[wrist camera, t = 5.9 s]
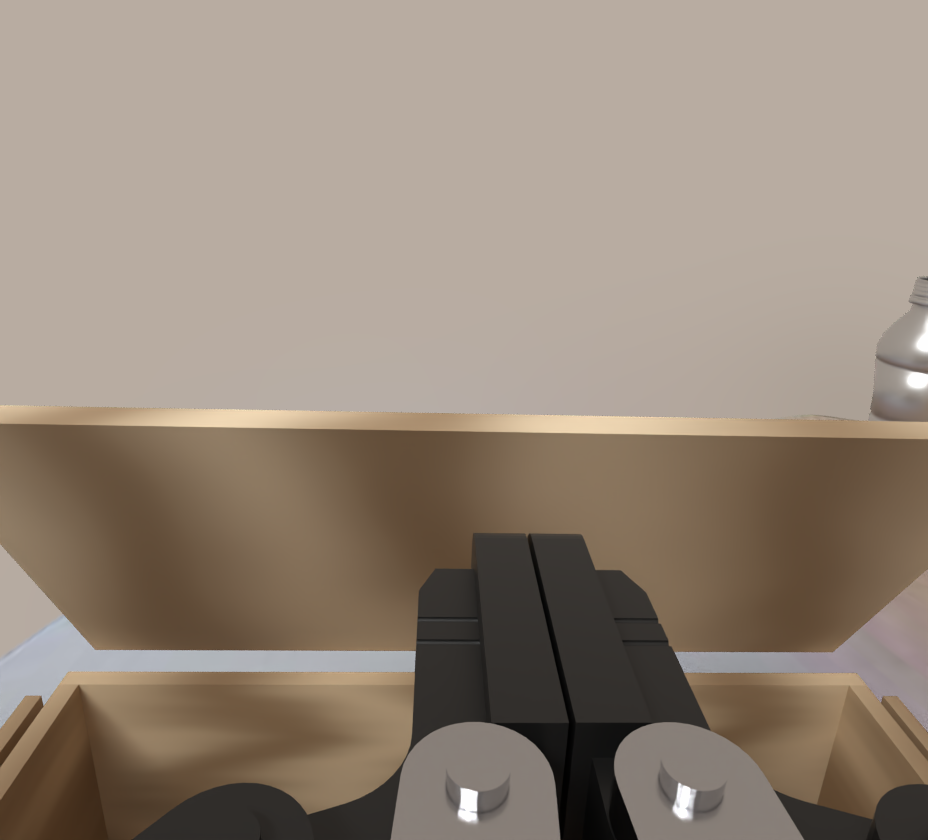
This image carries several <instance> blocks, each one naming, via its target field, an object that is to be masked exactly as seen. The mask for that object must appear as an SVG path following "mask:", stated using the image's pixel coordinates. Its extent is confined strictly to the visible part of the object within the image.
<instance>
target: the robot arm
mask: <svg viewBox="0 0 928 840" xmlns="http://www.w3.org/2000/svg"><path fill="white" fill-rule="evenodd" d="M132 840H928V785H926V784H908V785H903V786H899V787H896V788H894V789H892V790H890V791H888V792H887V793H886V794H884V795H883V796H882V797H881V799H880V800H879V802H878V804H877V806H876V809H875V813H874V816H873V819H869V818H865V817H862V816H858V815H854V814H850V813H847V812H843V811H839V810H835V809H831V808H828V807H824V806H820V805H816V804H813V803H809V802H805V801H802V800H799V799H796V798H793V797H790V796H787V795H785V794H783V793H780V792H778V791H776V790H774V789H773V788H772V786H771V785H770V783H769V782H768V780H767V778H766V777H765V775H764V774H763V772H762V771H761V769H760V768H759V767H758V765H757V764H756V763H755V762H754V761H753V760H752V759H751V757H750V756H749V755H748V754H747V753H745V752H744V751H743V750H742V749H740V748H739V747H738V746H737V745H735V744H734V743H732V742H731V741H729V740H728V739H726V738H724V737H722V736H720V735H718V734H716V733H714V732H712V731H711V730H710V727H709V725H708V723H707V721H706V719H705V717H704V715H703V713H702V710H701V708H700V706H699V704H698V702H697V700H696V698H695V696H694V693H693V691H692V689H691V687H690V685H689V683H688V681H687V678H686V676H685V674H684V672H683V670H682V668H681V666H680V664H679V661H678V659H677V657H676V655H675V653H674V651H673V649H672V646H669V640H668V638H667V636H666V634H665V632H664V629H663V627H662V625H661V624H659V623H658V617H657V615H656V612H655V610H654V608H653V606H652V604H651V602H650V600H649V597H648V595H647V593H646V592H645V591H644V590H643V589H642V588H641V587H639V586H638V585H637V584H636V583H635V582H634V581H632V580H631V579H630V578H629V577H628V576H627V575H626V574H624V573H623V572H622V571H621V570H595V567H594V564H593V562H592V559H591V556H590V554H589V551H588V548H587V546H586V543H585V540H584V538H583V536H582V535H581V534H541V533H529V534H528V536H526V534H525V533H473V538H472V556H471V569H435V570H434V571H433V572H432V574H431V575H430V576H429V578H428V579H427V580H426V582H425V583H424V584H423V586H422V587H421V588H420V590H419V596H418V619H417V639H416V660H415V681H414V702H413V724H412V738H411V744H410V747H409V750H408V753H407V755H406V757H405V759H404V761H403V762H402V764H401V766H400V767H399V768H398V769H397V771H396V772H395V773H394V774H393V775H392V776H391V777H390V778H389V779H388V780H387V781H386V782H385V783H384V784H382V785H381V786H379V787H378V788H377V789H375V790H374V791H372V792H370V793H368V794H366V795H365V796H363V797H361V798H359V799H356V800H353V801H350V802H348V803H345V804H342V805H338V806H335V807H332V808H328V809H325V810H322V811H318V812H315V813H311V814H308V815H307V813H306V812H305V810H304V809H303V808H302V806H301V805H300V804H299V803H298V802H297V801H296V800H295V799H294V798H293V797H292V796H290V795H289V794H287V793H285V792H284V791H282V790H280V789H277V788H275V787H272V786H269V785H264V784H259V783H234V784H227V785H223V786H218V787H214V788H212V789H209V790H206V791H203V792H201V793H198V794H196V795H195V796H193V797H191V798H189V799H187V800H185V801H183V802H182V803H180V804H179V805H177V806H176V807H174V808H173V809H172V810H170V811H169V812H168V813H166V814H165V815H164V816H162V817H161V818H160V819H158V820H157V821H156V822H154V823H153V824H152V825H150V826H149V827H148V828H146V829H145V830H144V831H142V832H141V833H140V834H138V835H137V836H136V837H134V838H133V839H132Z"/></svg>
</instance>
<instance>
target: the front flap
mask: <svg viewBox="0 0 928 840" xmlns="http://www.w3.org/2000/svg"><path fill="white" fill-rule="evenodd" d="M473 533H525V534H526V536H528V534H529V533H541V534H581V535H582V536H583V538H584V540H585V543H586V546H587V548H588V551H589V554H590V556H591V559H592V562H593V564H594V567H595V570H621V571H622V572H623V573H624V574H626V575H627V576H628V577H629V578H630V579H631V580H632V581H634V582H635V583H636V584H637V585H638V586H639V587H641V588H642V589H643V590H644V591H645V592H646V593H647V595H648V597H649V600H650V602H651V604H652V606H653V608H654V610H655V612H656V615H657V617H658V623H659V624H661V625H662V627H663V629H664V632H665V634H666V636H667V638H668V640H669V646H672V649H673V651H674V652H834V651H835V650H836V649H837V648H838V647H839V646H840V645H842V644H843V643H844V642H845V641H846V640H847V639H848V638H850V637H851V636H852V635H853V634H854V633H855V632H856V631H858V630H859V629H860V628H861V627H862V626H863V625H864V624H865V623H867V622H868V621H869V620H870V619H871V618H872V617H873V616H875V615H876V614H877V613H878V612H879V611H880V610H881V609H883V608H884V607H885V606H886V605H887V604H888V603H889V602H891V601H892V600H893V599H894V598H895V597H896V596H897V595H899V594H900V593H901V592H902V591H903V590H904V589H905V588H906V587H908V586H909V585H910V584H911V583H912V582H913V581H914V580H916V579H917V578H918V577H919V576H920V575H921V574H922V573H924V572H925V571H926V570H927V569H928V422H900V421H844V420H788V419H732V418H729V419H728V418H676V417H671V418H670V417H620V416H619V417H618V416H563V415H560V416H559V415H508V414H452V413H397V412H396V413H395V412H341V411H281V410H229V409H227V410H226V409H172V408H171V409H170V408H169V409H168V408H117V407H60V406H5V405H4V406H3V405H0V544H1V545H2V547H3V548H4V549H5V550H6V551H7V552H8V553H9V554H10V555H11V557H12V558H13V559H14V560H15V561H16V562H17V563H18V564H19V565H20V567H21V568H22V569H23V570H24V571H25V572H26V573H27V574H28V575H29V576H30V578H31V579H32V580H33V581H34V582H35V583H36V584H37V585H38V587H39V588H40V589H41V590H42V591H43V592H44V593H45V594H46V595H47V597H48V598H49V599H50V600H51V601H52V602H53V603H54V604H55V605H56V607H57V608H58V609H59V610H60V611H61V612H62V613H63V614H64V615H65V617H66V618H67V619H68V620H69V621H70V622H71V623H72V624H73V625H74V627H75V628H76V629H77V630H78V631H79V632H80V633H81V634H82V635H83V637H84V638H85V639H86V640H87V641H88V642H89V643H90V644H91V645H92V647H93V648H94V649H95V650H316V651H416V639H417V619H418V596H419V590H420V588H421V587H422V586H423V584H424V583H425V582H426V580H427V579H428V578H429V576H430V575H431V574H432V572H433V571H434V570H435V569H471V556H472V538H473Z"/></svg>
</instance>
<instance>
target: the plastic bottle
mask: <svg viewBox="0 0 928 840" xmlns="http://www.w3.org/2000/svg"><path fill="white" fill-rule="evenodd" d="M909 302H910V303H913V305H912V307H911V309H910V311H909V312H907V313H906V314H905V315H904V316H902V317H901V318H900V319H898V320H897V321H896V322H895V323H894V324H893V325H891V327H889V328H888V329H887V330H886V331H885V332H884V333H883V335H882V337H881V339H880V340H879V342H878V344H877V351H876V360H875V374H874V390H873V397H872V403H871V408H870V409H871V413H870V414H869V420H868V421H900V422H928V276H926V277H925V276H923V277H917V280H916V282H915V285H914V289H913V293H912V295H910V298H909Z"/></svg>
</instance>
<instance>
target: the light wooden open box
mask: <svg viewBox="0 0 928 840" xmlns="http://www.w3.org/2000/svg"><path fill="white" fill-rule="evenodd" d="M684 674H685V676H686V678H687V681H688V683H689V685H690V687H691V689H692V691H693V693H694V696H695V698H696V700H697V702H698V704H699V706H700V708H701V710H702V713H703V715H704V717H705V719H706V721H707V723H708V725H709V727H710V730H711V731H712V732H714V733H716V734H718V735H720V736H722V737H724V738H726V739H728V740H729V741H731V742H732V743H734V744H735V745H737V746H738V747H739V748H740V749H742V750H743V751H744V752H745V753H747V754H748V755H749V756H750V757H751V759H752V760H753V761H754V762H755V763H756V764H757V765H758V767H759V768H760V769H761V771H762V772H763V774H764V775H765V777H766V778H767V780H768V782H769V783H770V785H771V786H772V788H773V789H774V790H776V791H778V792H780V793H783V794H785V795H787V796H790V797H793V798H796V799H799V800H802V801H805V802H809V803H813V804H816V805H820V806H824V807H828V808H831V809H835V810H839V811H843V812H847V813H850V814H854V815H858V816H862V817H865V818H869V819H873V816H874V813H875V809H876V806H877V804H878V802H879V800H880V799H881V797H882V796H883V795H884V794H886V793H887V792H888V791H890V790H892V789H894V788H896V787H899V786H903V785H908V784H926V785H928V732H927V731H926V730H925V729H924V728H923V726H922V725H921V724H920V723H919V722H918V721H917V719H916V718H915V717H914V716H913V715H912V713H911V712H910V711H909V710H908V709H907V707H906V706H905V705H904V704H903V703H902V702H901V700H900V699H899V698H898V697H897V696H883V698H882V702H881V703H880V701H879V700H878V699H877V698H876V697H875V695H874V694H873V693H872V692H871V690H870V689H869V688H868V687H867V685H866V684H865V683H864V682H863V680H862V679H861V678H860V677H859V675H858V674H857V673H684ZM414 681H415V672H68V673H67V674H66V676H65V677H64V678H63V680H62V681H61V683H60V684H59V685H58V687H57V688H56V690H55V691H54V693H53V694H52V695H51V697H50V698H49V700H48V701H47V702H46V704H45V705H44V706H43V702H42V697H41V696H25V697H24V699H23V700H22V701H21V703H20V704H19V705H18V707H17V708H16V709H15V711H14V712H13V713H12V714H11V716H10V717H9V718H8V720H7V721H6V722H5V724H4V725H3V726H2V728H1V729H0V840H132V839H133V838H134V837H136V836H137V835H138V834H140V833H141V832H142V831H144V830H145V829H146V828H148V827H149V826H150V825H152V824H153V823H154V822H156V821H157V820H158V819H160V818H161V817H162V816H164V815H165V814H166V813H168V812H169V811H170V810H172V809H173V808H174V807H176V806H177V805H179V804H180V803H182V802H183V801H185V800H187V799H189V798H191V797H193V796H195V795H196V794H198V793H201V792H203V791H206V790H209V789H212V788H214V787H218V786H223V785H227V784H234V783H259V784H264V785H269V786H272V787H275V788H277V789H280V790H282V791H284V792H285V793H287V794H289V795H290V796H292V797H293V798H294V799H295V800H296V801H297V802H298V803H299V804H300V805H301V806H302V808H303V809H304V810H305V812H306V813H307V815H308V814H311V813H315V812H318V811H322V810H325V809H328V808H332V807H335V806H338V805H342V804H345V803H348V802H350V801H353V800H356V799H359V798H361V797H363V796H365V795H366V794H368V793H370V792H372V791H374V790H375V789H377V788H378V787H379V786H381V785H382V784H384V783H385V782H386V781H387V780H388V779H389V778H390V777H391V776H392V775H393V774H394V773H395V772H396V771H397V769H398V768H399V767H400V766H401V764H402V762H403V761H404V759H405V757H406V755H407V753H408V750H409V747H410V744H411V738H412V724H413V702H414Z"/></svg>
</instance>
